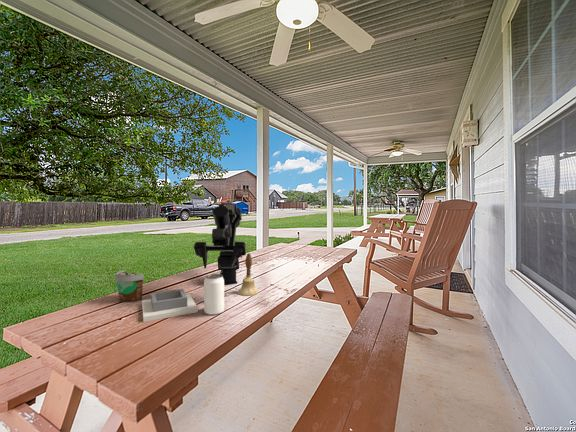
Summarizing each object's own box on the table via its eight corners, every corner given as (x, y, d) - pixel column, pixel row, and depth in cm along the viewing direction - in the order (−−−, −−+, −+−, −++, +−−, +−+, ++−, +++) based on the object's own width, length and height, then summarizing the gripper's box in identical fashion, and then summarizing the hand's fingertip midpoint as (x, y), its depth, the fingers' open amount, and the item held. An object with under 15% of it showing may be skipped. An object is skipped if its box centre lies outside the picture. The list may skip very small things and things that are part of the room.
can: (221, 315, 89) (221, 278, 89) (201, 315, 89) (201, 278, 89) (226, 307, 96) (226, 273, 95) (207, 307, 96) (207, 273, 95)
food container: (107, 299, 103) (107, 273, 102) (124, 294, 108) (123, 269, 108) (128, 305, 97) (127, 277, 96) (144, 300, 102) (144, 273, 102)
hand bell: (260, 289, 116) (260, 251, 115) (256, 296, 108) (256, 255, 107) (240, 288, 117) (240, 251, 116) (235, 295, 108) (235, 255, 108)
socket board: (189, 297, 106) (189, 285, 105) (197, 312, 92) (197, 298, 92) (142, 304, 98) (141, 292, 98) (143, 322, 84) (143, 307, 84)
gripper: (194, 220, 103) (186, 255, 92) (245, 220, 104) (242, 255, 94) (200, 238, 111) (193, 272, 101) (247, 238, 112) (244, 272, 102)
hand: (217, 267), depth 99 cm, fingers open, 9 cm apart
